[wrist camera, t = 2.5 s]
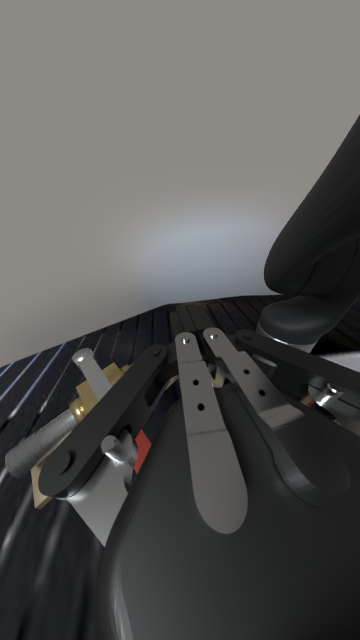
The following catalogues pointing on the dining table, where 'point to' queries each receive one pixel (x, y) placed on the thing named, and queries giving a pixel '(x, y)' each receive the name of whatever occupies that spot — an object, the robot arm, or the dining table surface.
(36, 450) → the valve line
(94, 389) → the valve lever
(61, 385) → the dining table surface
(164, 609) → the robot arm
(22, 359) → the dining table surface
